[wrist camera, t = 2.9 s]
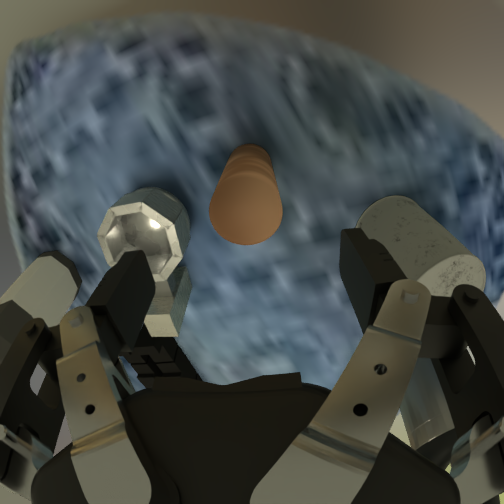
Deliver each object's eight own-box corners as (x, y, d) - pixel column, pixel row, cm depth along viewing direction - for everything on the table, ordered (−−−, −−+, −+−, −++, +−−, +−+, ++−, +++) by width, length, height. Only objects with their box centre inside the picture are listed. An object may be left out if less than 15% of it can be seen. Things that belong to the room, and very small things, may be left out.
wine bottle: (65, 303, 35) (-20, 469, 9) (32, 263, 32) (-75, 421, 6) (92, 284, 33) (-7, 486, 7) (55, 238, 30) (-79, 426, 4)
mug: (186, 175, 26) (161, 204, 19) (210, 285, 33) (200, 336, 26) (119, 187, 27) (80, 219, 20) (152, 289, 33) (132, 336, 26)
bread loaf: (268, 141, 24) (279, 173, 14) (273, 182, 26) (284, 241, 16) (225, 146, 25) (203, 182, 14) (231, 186, 27) (215, 248, 16)
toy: (241, 335, 30) (284, 433, 45) (242, 303, 35) (283, 410, 50) (58, 350, 34) (147, 435, 49) (71, 327, 39) (151, 416, 54)
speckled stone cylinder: (437, 225, 28) (497, 285, 18) (388, 281, 32) (428, 355, 22) (390, 177, 26) (459, 231, 15) (335, 245, 30) (371, 325, 19)
